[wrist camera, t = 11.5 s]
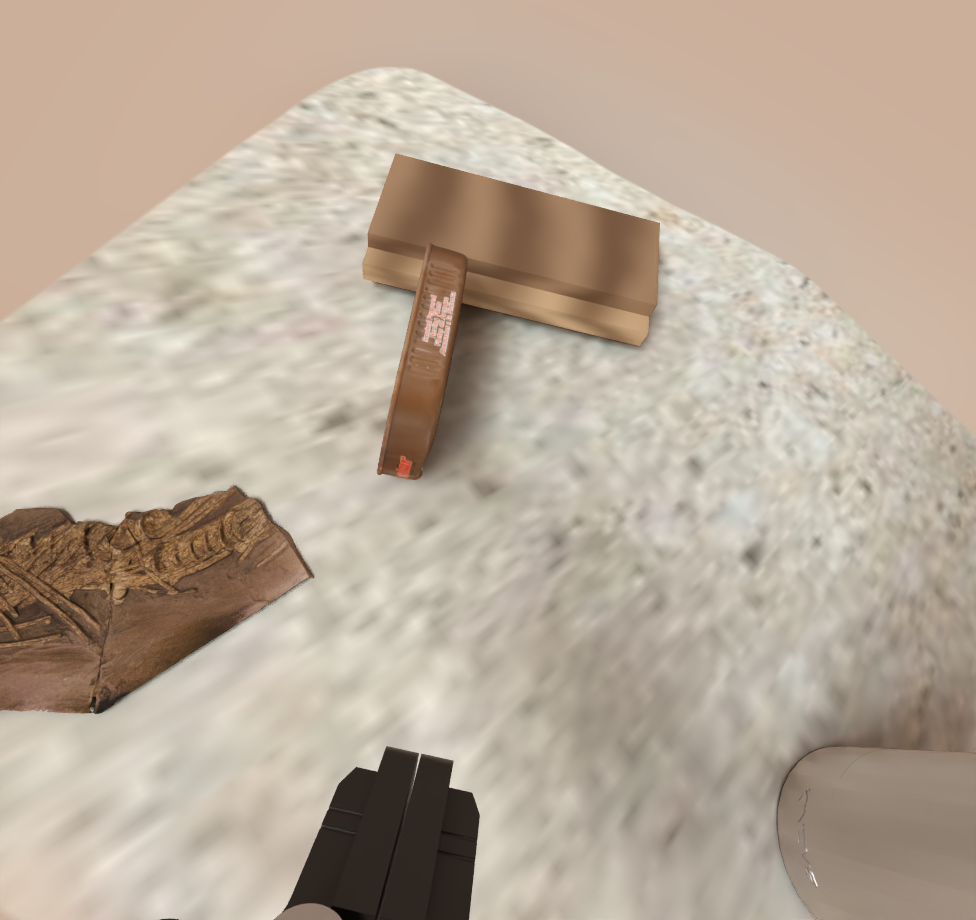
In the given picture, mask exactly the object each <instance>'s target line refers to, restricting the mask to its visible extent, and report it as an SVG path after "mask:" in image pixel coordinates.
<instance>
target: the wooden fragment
mask: <svg viewBox="0 0 976 920" xmlns="http://www.w3.org/2000/svg"><path fill="white" fill-rule="evenodd" d="M125 517H126V518H125V519H124V520H123V521H122V522H121V523H120V526H112V525H103V524H101V523H98V522H95V521H90V522H80V521H78V522H77V523H74V522H73V521H71V520H69V519H68V518H67V517H66V516H65V515H64V514H62V513H61V512H60V511H59V510H58V509H55V508H33V509H16V510H15V511H14V512H12V513H11V514H8V515H6V516H4V517H2V518H1V519H0V710H16V711H29V710H36V711H39V710H42V711H43V712H44V711H45V710H47V709H48V711H47V712H58V713H95V714H99V713H102V712H104V711H105V710H107V709H108V708H109V707H111V706H112V705H114V704H115V702H117V701H118V700H119V699H120V698H121V697H123V696H125V695H127V694H129V693H130V692H132V691H133V690H135V689H136V688H138V687H139V686H141V685H142V684H144V683H145V682H146V681H148V680H150V679H152V678H153V677H154V676H156V675H158V674H159V673H161V672H163V671H164V670H166V669H168V668H169V667H171V666H172V665H174V664H175V663H177V662H178V661H179V660H180V659H183V658H185V657H186V656H187V655H189V654H190V653H192V652H194V651H195V650H197V649H199V648H200V647H201V646H203V645H205V644H206V643H208V642H209V641H211V640H213V639H214V638H216V637H217V636H219V635H220V634H222V633H223V632H225V631H227V630H229V629H231V628H232V627H233V626H234V625H235V624H237V623H239V622H241V621H242V620H244V619H246V618H247V617H248V616H249V615H252V614H253V613H254V612H255V613H256V612H257V611H259V610H260V609H261V608H262V606H266V605H267V604H269V603H271V602H272V601H273V600H275V599H276V598H278V597H280V596H281V595H282V594H284V593H285V592H287V591H289V590H290V589H291V588H292V587H293V586H296V585H297V584H299V583H300V582H302V581H303V580H305V579H306V578H308V577H313V576H312V574H311V573H310V572H309V570H308V568H307V567H306V565H305V563H304V562H303V560H302V558H301V556H300V555H299V553H298V551H297V549H296V547H295V544H294V542H293V539H292V537H291V535H290V534H289V533H288V532H287V531H286V530H284V529H283V528H281V527H279V526H277V525H275V524H273V523H272V522H271V521H270V520H269V518H268V517H267V515H266V514H265V512H264V510H263V508H262V505H261V504H260V503H259V502H257V501H256V500H255V499H253V498H245V497H244V496H243V495H242V494H241V493H240V492H239V491H238V490H237V489H236V488H235V487H234V486H231V487H230V488H229V489H228V490H227V491H224V492H214V493H213V494H212V495H207V496H203V497H196V498H192V499H189V500H186V501H182V502H180V503H178V504H176V505H175V507H174V508H173V510H165V509H162V510H161V511H159V510H156V509H153V510H149V511H147V512H143V513H140V512H131V511H130V512H127V513H126V514H125ZM313 578H314V577H313ZM95 696H96V698H97V700H96V704H95V706H92V707H95V709H94V711H93V712H91V711H90V707H91V702H92V697H95Z"/></svg>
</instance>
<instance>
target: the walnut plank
mask: <svg viewBox="0 0 976 920" xmlns="http://www.w3.org/2000/svg"><path fill="white" fill-rule="evenodd" d="M659 231H660V223H658V222H654V221H650V220H646V219H642V218H639V217H635V216H631V215H627V214H623V213H620V212H616V211H612V210H608V209H605V208H601V207H597V206H593V205H589V204H586V203H582V202H578V201H574V200H570V199H567V198H563V197H559V196H555V195H551V194H548V193H544V192H540V191H536V190H532V189H529V188H525V187H521V186H517V185H514V184H510V183H506V182H502V181H498V180H495V179H491V178H487V177H483V176H479V175H476V174H472V173H468V172H464V171H460V170H457V169H453V168H449V167H445V166H441V165H438V164H434V163H430V162H426V161H422V160H419V159H415V158H411V157H407V156H404V155H400V154H395V157H394V160H393V162H392V165H391V168H390V171H389V174H388V177H387V180H386V182H385V185H384V188H383V191H382V194H381V197H380V199H379V202H378V205H377V208H376V211H375V214H374V217H373V219H372V222H371V225H370V228H369V231H368V249H367V252H366V255H365V258H364V260H363V279H366V280H370V281H374V282H378V283H382V284H386V285H390V286H394V287H399V288H403V289H407V290H411V291H415V292H416V290H417V286H418V281H419V277H420V273H421V269H422V264H423V260H424V256H425V252H426V248H427V244H428V242H430V243H432V244H433V245H435V246H438V247H442V248H445V249H449V250H452V251H456V252H459V253H461V254H464V255H465V256H466V257H467V259H468V267H467V274H466V280H465V286H464V292H463V299H462V303H464V304H468V305H472V306H476V307H481V308H485V309H489V310H493V311H497V312H501V313H505V314H509V315H513V316H517V317H522V318H526V319H530V320H534V321H538V322H542V323H546V324H550V325H554V326H558V327H563V328H567V329H571V330H575V331H579V332H583V333H587V334H591V335H595V336H599V337H604V338H608V339H612V340H616V341H620V342H624V343H628V344H632V345H636V346H640V345H641V343H642V342H643V341H644V339H645V338H646V336H647V335H648V329H649V316H650V315H651V313H652V312H653V310H654V308H655V307H656V305H657V284H658V257H659Z"/></svg>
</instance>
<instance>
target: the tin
mask: <svg viewBox="0 0 976 920" xmlns="http://www.w3.org/2000/svg"><path fill="white" fill-rule="evenodd" d="M467 267H468V259H467V257H466V256H465V255H464V254H461V253H459V252H456V251H452V250H449V249H445V248H442V247H438V246H435V245H433V244H432V243H430V242H428V244H427V248H426V252H425V256H424V260H423V264H422V269H421V273H420V277H419V281H418V286H417V290H416V295H415V299H414V303H413V308H412V312H411V316H410V321H409V325H408V329H407V334H406V338H405V342H404V347H403V351H402V355H401V359H400V364H399V368H398V372H397V377H396V381H395V386H394V391H393V395H392V400H391V405H390V409H389V414H388V418H387V422H386V428H385V432H384V438H383V442H382V447H381V453H380V458H379V463H378V469H377V474H378V475H381V474H387V475H391V476H396V477H401V478H406V479H413V480H416V479H419V478H421V476H422V469H423V463H424V461H425V459H426V458H427V456H428V454H429V452H430V450H431V447H432V443H433V440H434V436H435V433H436V429H437V425H438V421H439V417H440V412H441V407H442V403H443V398H444V393H445V389H446V384H447V379H448V374H449V369H450V364H451V358H452V353H453V348H454V343H455V338H456V333H457V327H458V322H459V316H460V311H461V304H462V299H463V292H464V286H465V280H466V274H467Z"/></svg>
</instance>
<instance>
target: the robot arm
mask: <svg viewBox="0 0 976 920" xmlns="http://www.w3.org/2000/svg"><path fill="white" fill-rule="evenodd" d="M418 756H419V753H415V752H411V751H406V750H402V749H397V748H393V747H388V746H387V747H386V749H385V752H384V755H383V758H382V760H381V763H380V766H379V769H378V772H376V771H371V770H367V769H362V768H358V767H356V768H355V769H354V770H353V771H352V772H351V773H350V774H349V775H347V776H346V777H345V778H344V779H343V780H342V781H341V782H340V783H339V785H338V787H337V789H336V792H335V794H334V796H333V799H332V801H331V804H330V806H329V810H328V811H327V813H326V815H325V818H324V820H323V823H322V826H321V829H320V830H319V832H318V835H317V837H316V839H315V842H314V844H313V846H312V849H311V851H310V854H309V856H308V858H307V861H306V863H305V865H304V868H303V870H302V873H301V875H300V877H299V880H298V882H297V885H296V887H295V889H294V892H293V894H292V896H291V899H290V901H289V903H288V905H287V906H286V908H285V909H284V911H283V912H282V913H281V914H280V915H279V916H277V917H276V918H275V919H274V920H469V913H470V904H471V894H472V885H473V875H474V866H475V856H476V846H477V837H478V827H479V818H480V814H479V811H478V808H477V805H476V802H475V799H474V797H473V794H472V793H471V792H466V791H462V790H457V789H453V788H449V784H450V778H451V772H452V767H453V761H452V760H448V759H443V758H439V757H434V756H430V755H425V754H421V758H420V761H419V765H418V769H417V773H416V777H415V772H416V767H417V762H418ZM414 777H415V781H414ZM413 782H414V785H413ZM412 787H413V789H412ZM411 792H412V793H411ZM778 835H779V842H780V850H781V853H782V857H783V860H784V863H785V867H786V870H787V873H788V875H789V877H790V879H791V881H792V883H793V885H794V887H795V890H796V892H797V894H798V895H799V897H800V898H801V899H802V901H803V902H804V904H805V905H806V907H807V908H808V910H809V911H810V913H811V914H812V915H813V916H814V917H815V918H816V919H817V920H976V753H969V752H947V751H925V750H903V749H888V748H864V747H841V746H840V747H825V748H822V749H819V750H816V751H813V752H811V753H810V754H808V755H807V756H806V757H804V758H803V759H801V760H800V761H799V762H798V763H797V765H796V766H795V767H794V768H793V770H792V771H791V772H790V773H789V775H788V778H787V780H786V782H785V784H784V786H783V789H782V793H781V797H780V802H779V806H778ZM161 920H178V919H161Z"/></svg>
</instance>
